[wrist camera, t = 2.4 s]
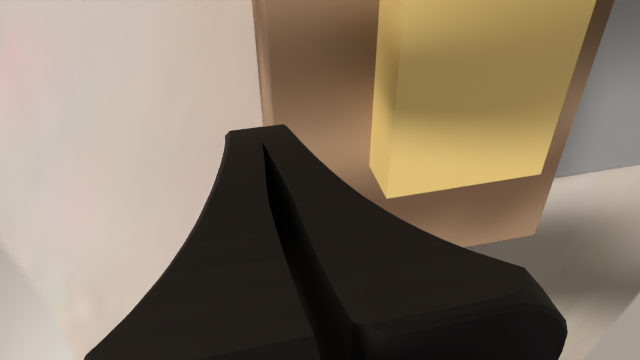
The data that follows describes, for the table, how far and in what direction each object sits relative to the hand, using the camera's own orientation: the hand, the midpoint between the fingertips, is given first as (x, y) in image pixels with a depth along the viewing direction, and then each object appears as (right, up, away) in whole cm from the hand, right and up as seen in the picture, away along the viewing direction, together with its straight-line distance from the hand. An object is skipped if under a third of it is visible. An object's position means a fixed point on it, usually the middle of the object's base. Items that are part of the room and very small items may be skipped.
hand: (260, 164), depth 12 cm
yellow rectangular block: (+6, +4, +5) cm, 9 cm away
